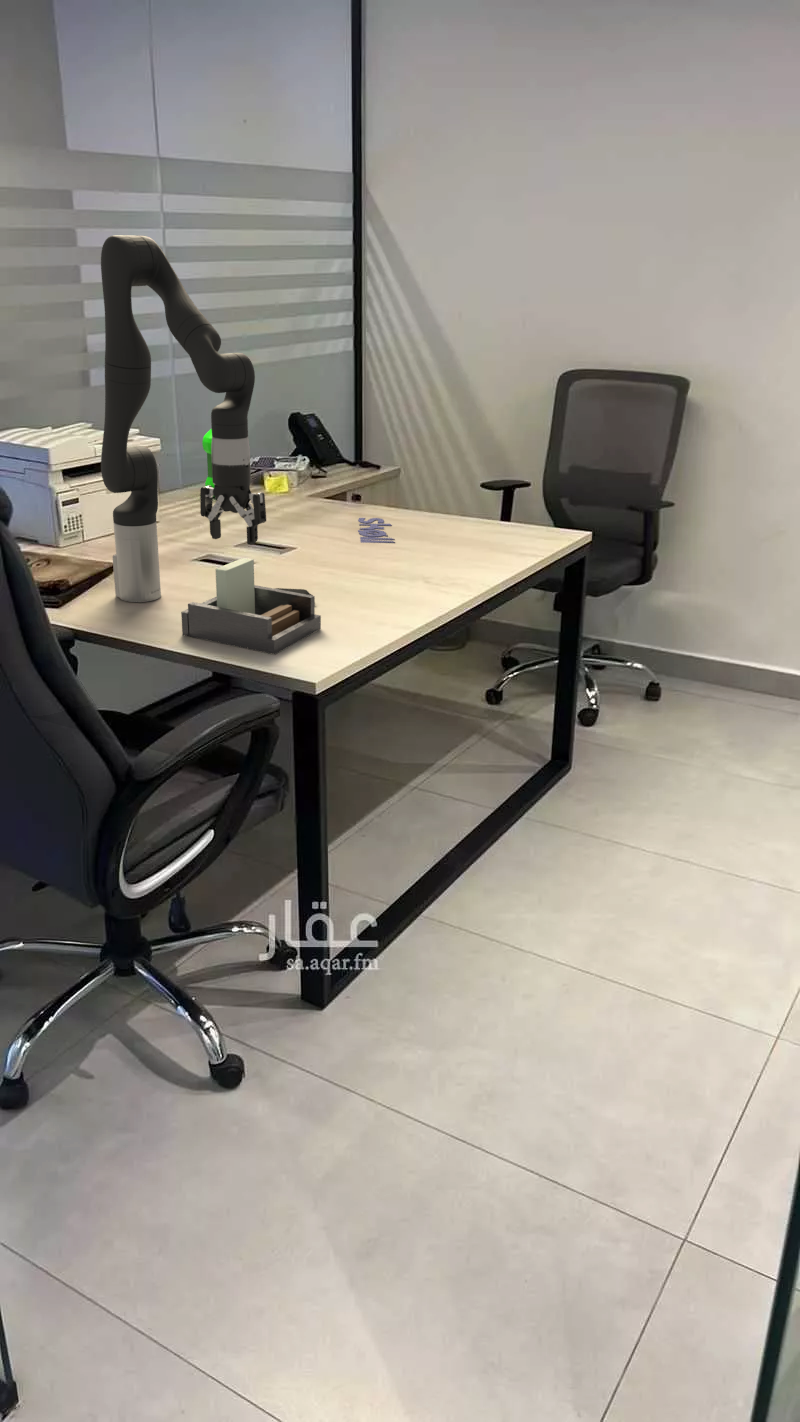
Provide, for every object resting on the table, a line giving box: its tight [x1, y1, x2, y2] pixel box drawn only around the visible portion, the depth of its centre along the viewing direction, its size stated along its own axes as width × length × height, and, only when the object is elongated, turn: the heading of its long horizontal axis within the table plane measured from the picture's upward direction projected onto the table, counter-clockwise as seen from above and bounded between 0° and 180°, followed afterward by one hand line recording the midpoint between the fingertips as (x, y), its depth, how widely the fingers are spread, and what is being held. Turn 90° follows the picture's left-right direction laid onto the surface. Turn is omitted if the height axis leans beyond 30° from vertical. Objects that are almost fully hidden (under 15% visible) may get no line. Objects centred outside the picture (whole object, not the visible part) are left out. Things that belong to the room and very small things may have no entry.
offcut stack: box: [262, 605, 299, 636], centre depth 219 cm, size 4×12×6 cm, turn 154°
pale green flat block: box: [215, 557, 255, 614], centre depth 221 cm, size 2×10×14 cm, turn 154°
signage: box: [357, 517, 396, 544], centre depth 305 cm, size 28×1×10 cm
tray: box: [180, 584, 322, 656], centre depth 221 cm, size 22×18×7 cm
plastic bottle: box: [202, 427, 215, 498], centre depth 335 cm, size 10×10×25 cm
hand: (234, 541), depth 216 cm, fingers open, 8 cm apart
